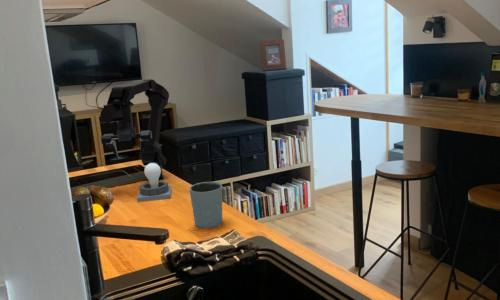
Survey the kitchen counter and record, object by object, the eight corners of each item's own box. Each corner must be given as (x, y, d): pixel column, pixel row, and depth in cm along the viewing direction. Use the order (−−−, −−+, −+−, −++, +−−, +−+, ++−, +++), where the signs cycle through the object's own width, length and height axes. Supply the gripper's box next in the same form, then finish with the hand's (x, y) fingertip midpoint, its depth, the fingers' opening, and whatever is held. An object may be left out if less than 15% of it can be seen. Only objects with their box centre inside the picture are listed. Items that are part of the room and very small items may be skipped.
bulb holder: (140, 192, 186) (139, 182, 185) (171, 188, 187) (170, 179, 186) (137, 201, 174) (136, 191, 173) (170, 198, 175) (169, 187, 174)
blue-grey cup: (208, 215, 155) (205, 180, 152) (232, 221, 148) (229, 184, 146) (186, 225, 147) (182, 188, 144) (209, 232, 141) (205, 193, 138)
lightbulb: (164, 188, 183) (161, 160, 180) (160, 193, 177) (157, 164, 174) (149, 189, 183) (146, 161, 181) (144, 194, 178) (141, 165, 175)
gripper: (95, 124, 174) (101, 165, 177) (147, 119, 176) (152, 160, 179) (101, 120, 185) (106, 159, 188) (149, 115, 187) (154, 154, 190)
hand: (129, 158), depth 186 cm, fingers open, 9 cm apart
